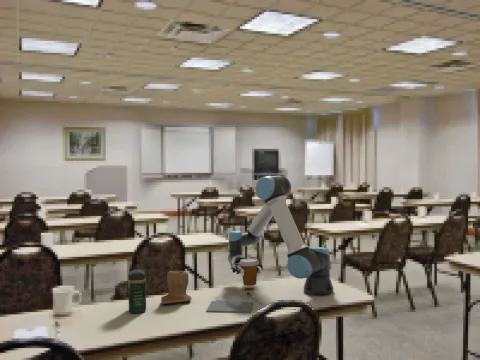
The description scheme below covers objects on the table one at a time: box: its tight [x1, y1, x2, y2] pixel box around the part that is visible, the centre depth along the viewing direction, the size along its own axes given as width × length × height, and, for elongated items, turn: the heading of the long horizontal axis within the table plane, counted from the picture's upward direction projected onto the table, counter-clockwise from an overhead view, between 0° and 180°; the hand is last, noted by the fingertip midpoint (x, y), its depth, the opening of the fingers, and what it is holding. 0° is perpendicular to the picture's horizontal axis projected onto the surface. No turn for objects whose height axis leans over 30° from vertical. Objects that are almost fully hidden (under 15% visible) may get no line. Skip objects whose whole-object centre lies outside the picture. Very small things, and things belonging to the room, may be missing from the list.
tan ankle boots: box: [160, 270, 192, 305], centre depth 211 cm, size 15×12×15 cm
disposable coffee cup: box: [240, 257, 260, 287], centre depth 214 cm, size 10×10×12 cm
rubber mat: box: [205, 300, 254, 314], centre depth 201 cm, size 20×14×1 cm
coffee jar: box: [127, 268, 147, 314], centre depth 199 cm, size 10×8×19 cm
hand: (252, 272), depth 209 cm, fingers closed on disposable coffee cup, 8 cm apart
